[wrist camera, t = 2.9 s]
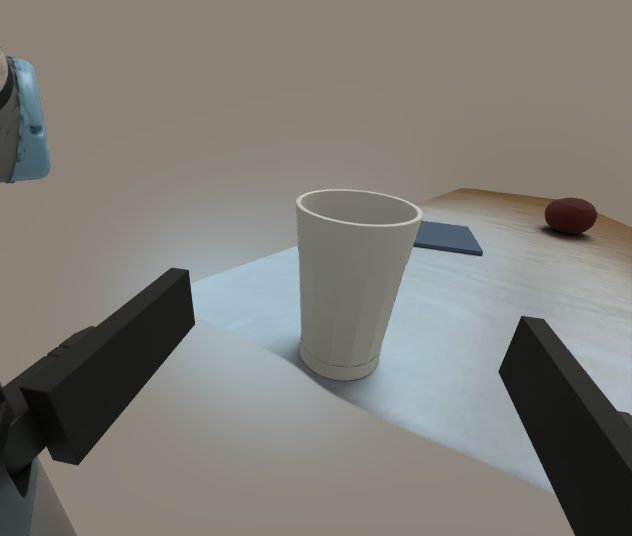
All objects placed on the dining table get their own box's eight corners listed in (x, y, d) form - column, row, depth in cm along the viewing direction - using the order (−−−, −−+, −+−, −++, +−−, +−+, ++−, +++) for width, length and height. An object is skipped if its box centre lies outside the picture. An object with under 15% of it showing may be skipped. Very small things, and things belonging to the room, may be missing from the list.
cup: (401, 391, 23) (442, 230, 18) (287, 388, 23) (294, 221, 17) (378, 322, 30) (403, 192, 25) (291, 319, 30) (297, 186, 24)
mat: (402, 244, 48) (403, 240, 48) (401, 221, 58) (401, 218, 57) (481, 255, 46) (483, 251, 46) (466, 230, 56) (467, 226, 56)
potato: (527, 223, 62) (539, 191, 59) (567, 225, 63) (580, 193, 60) (556, 238, 55) (571, 203, 52) (600, 239, 56) (617, 205, 53)
